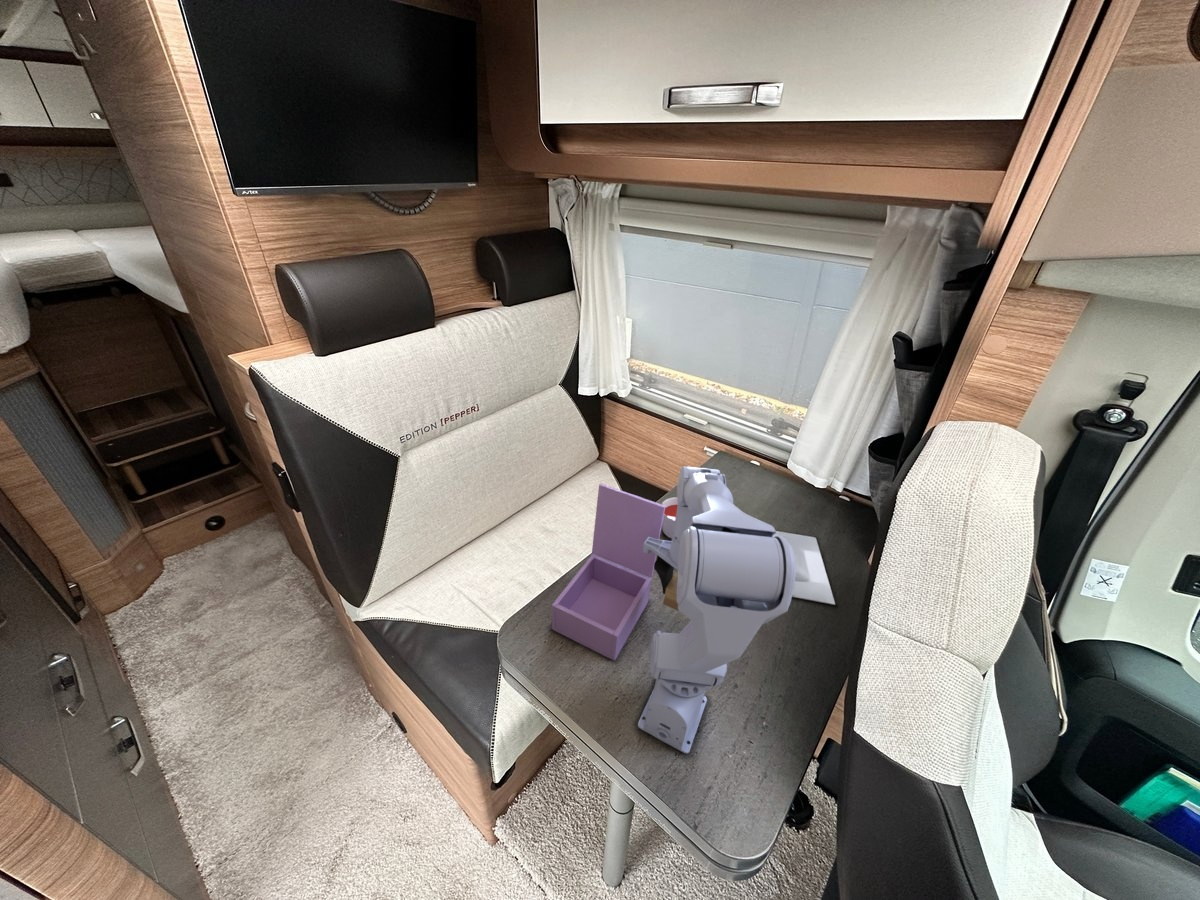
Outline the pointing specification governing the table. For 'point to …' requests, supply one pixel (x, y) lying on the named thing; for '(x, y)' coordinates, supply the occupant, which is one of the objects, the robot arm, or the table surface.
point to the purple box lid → (626, 528)
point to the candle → (669, 516)
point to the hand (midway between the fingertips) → (679, 595)
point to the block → (671, 593)
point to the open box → (601, 605)
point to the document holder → (808, 569)
